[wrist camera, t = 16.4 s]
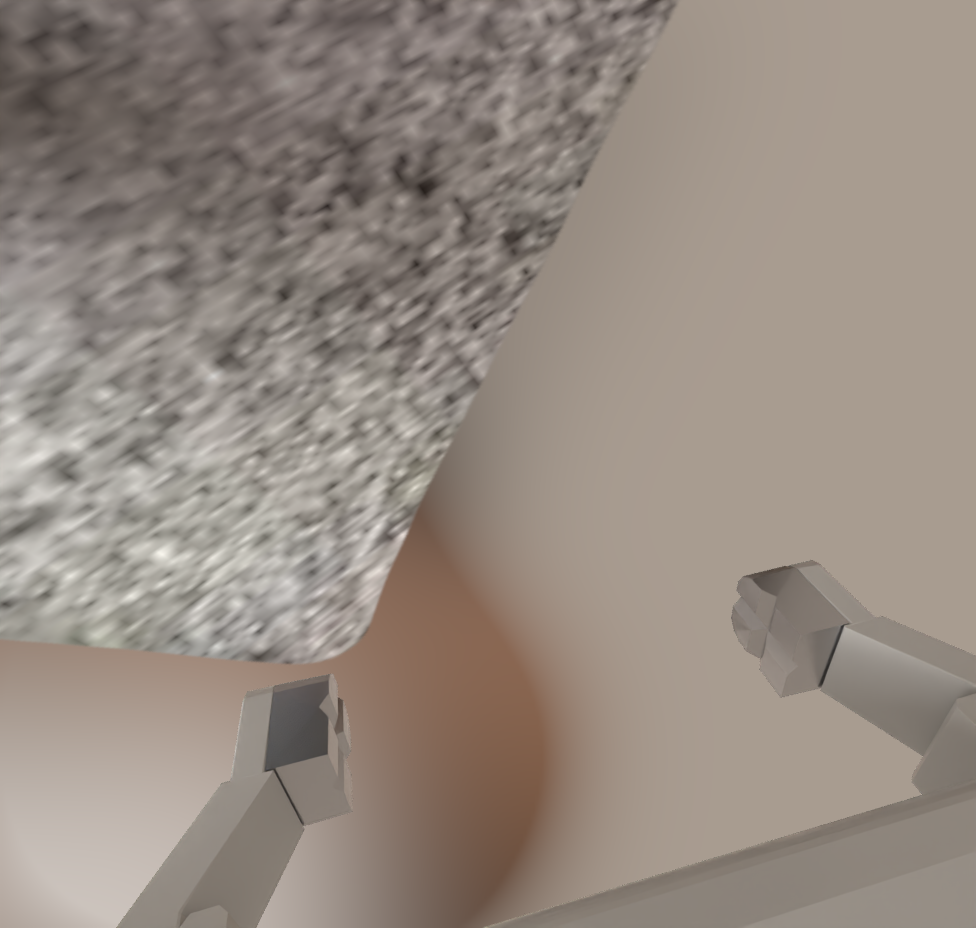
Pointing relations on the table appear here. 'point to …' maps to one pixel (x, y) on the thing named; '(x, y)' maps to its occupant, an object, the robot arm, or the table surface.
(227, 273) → the table surface
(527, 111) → the table surface
